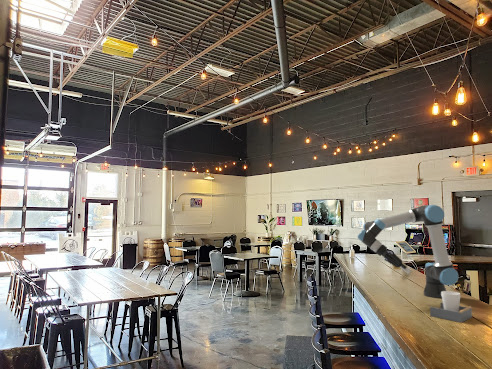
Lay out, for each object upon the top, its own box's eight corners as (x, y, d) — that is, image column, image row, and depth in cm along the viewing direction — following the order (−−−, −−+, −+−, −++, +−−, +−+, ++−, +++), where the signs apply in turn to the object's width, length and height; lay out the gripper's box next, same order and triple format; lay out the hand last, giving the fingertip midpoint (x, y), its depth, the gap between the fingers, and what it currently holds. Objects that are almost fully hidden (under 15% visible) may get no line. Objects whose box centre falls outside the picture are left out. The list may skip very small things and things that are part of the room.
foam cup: (452, 319, 197) (451, 295, 199) (438, 314, 206) (437, 291, 207) (465, 317, 201) (464, 293, 202) (450, 313, 209) (449, 290, 210)
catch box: (441, 311, 214) (441, 301, 214) (471, 317, 202) (471, 306, 202) (430, 316, 203) (429, 305, 204) (461, 322, 191) (461, 311, 192)
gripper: (373, 255, 246) (403, 279, 236) (377, 247, 235) (409, 272, 225) (379, 248, 249) (409, 272, 238) (384, 240, 238) (416, 264, 227)
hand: (409, 272), depth 232 cm, fingers closed
